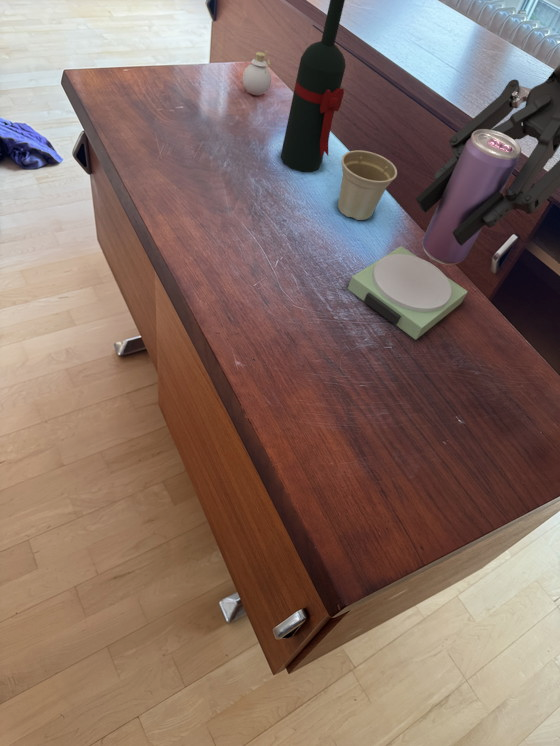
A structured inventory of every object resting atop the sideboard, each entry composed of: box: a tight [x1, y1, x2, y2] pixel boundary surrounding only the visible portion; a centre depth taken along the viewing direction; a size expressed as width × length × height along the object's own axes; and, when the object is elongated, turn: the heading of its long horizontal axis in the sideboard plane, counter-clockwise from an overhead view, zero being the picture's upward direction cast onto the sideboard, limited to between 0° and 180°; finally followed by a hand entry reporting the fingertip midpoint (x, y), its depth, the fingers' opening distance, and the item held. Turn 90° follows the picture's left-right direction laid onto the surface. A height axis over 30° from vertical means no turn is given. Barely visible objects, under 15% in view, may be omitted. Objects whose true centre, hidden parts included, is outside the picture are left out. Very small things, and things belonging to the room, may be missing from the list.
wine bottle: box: [279, 0, 347, 173], centre depth 95 cm, size 8×10×30 cm
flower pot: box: [337, 149, 398, 221], centre depth 96 cm, size 9×9×9 cm
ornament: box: [242, 48, 272, 96], centre depth 117 cm, size 6×7×10 cm
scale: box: [347, 245, 469, 340], centre depth 86 cm, size 13×14×3 cm
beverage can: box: [421, 129, 522, 266], centre depth 67 cm, size 6×6×15 cm
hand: (438, 221), depth 67 cm, fingers closed on beverage can, 6 cm apart
